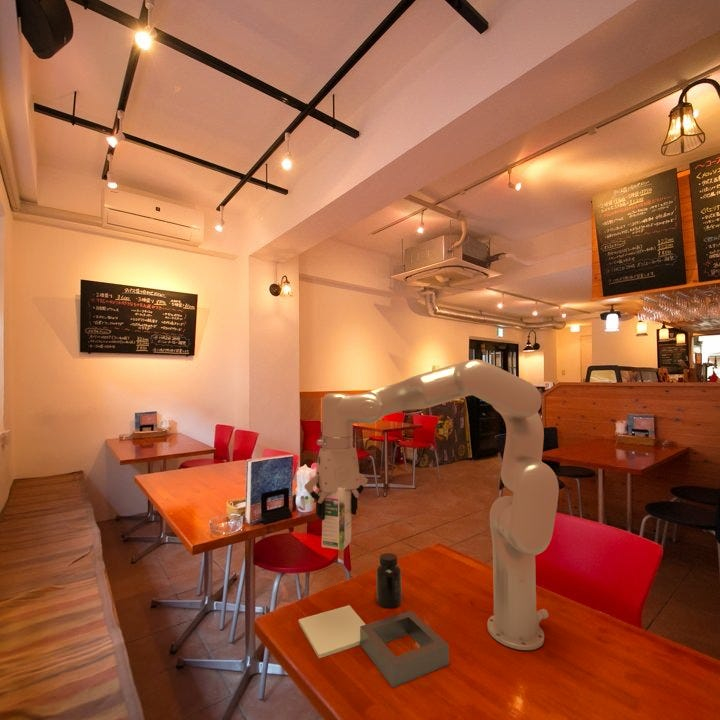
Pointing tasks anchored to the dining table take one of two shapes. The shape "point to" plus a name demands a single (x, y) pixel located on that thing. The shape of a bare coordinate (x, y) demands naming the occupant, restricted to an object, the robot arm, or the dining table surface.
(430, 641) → the collar
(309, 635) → the pad
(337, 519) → the syrup box
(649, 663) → the dining table surface
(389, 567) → the supplement bottle
